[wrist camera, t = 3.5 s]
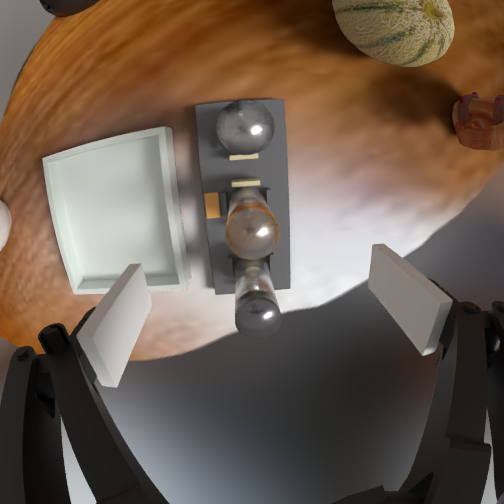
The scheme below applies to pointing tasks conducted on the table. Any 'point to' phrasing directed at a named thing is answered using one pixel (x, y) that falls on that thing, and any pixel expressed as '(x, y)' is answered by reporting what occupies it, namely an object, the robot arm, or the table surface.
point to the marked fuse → (250, 224)
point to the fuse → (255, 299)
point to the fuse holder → (234, 176)
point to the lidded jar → (4, 224)
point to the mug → (480, 122)
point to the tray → (119, 211)
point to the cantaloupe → (397, 29)
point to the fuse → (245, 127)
